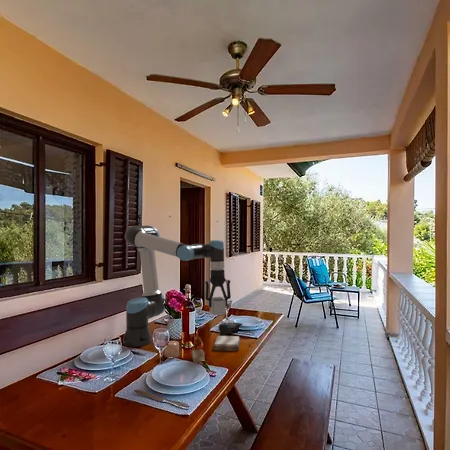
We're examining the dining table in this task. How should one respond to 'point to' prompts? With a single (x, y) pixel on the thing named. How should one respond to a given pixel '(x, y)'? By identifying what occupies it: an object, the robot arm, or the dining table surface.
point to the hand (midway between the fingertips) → (218, 312)
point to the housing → (218, 306)
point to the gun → (228, 328)
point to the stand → (227, 343)
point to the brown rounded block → (172, 349)
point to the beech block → (197, 355)
